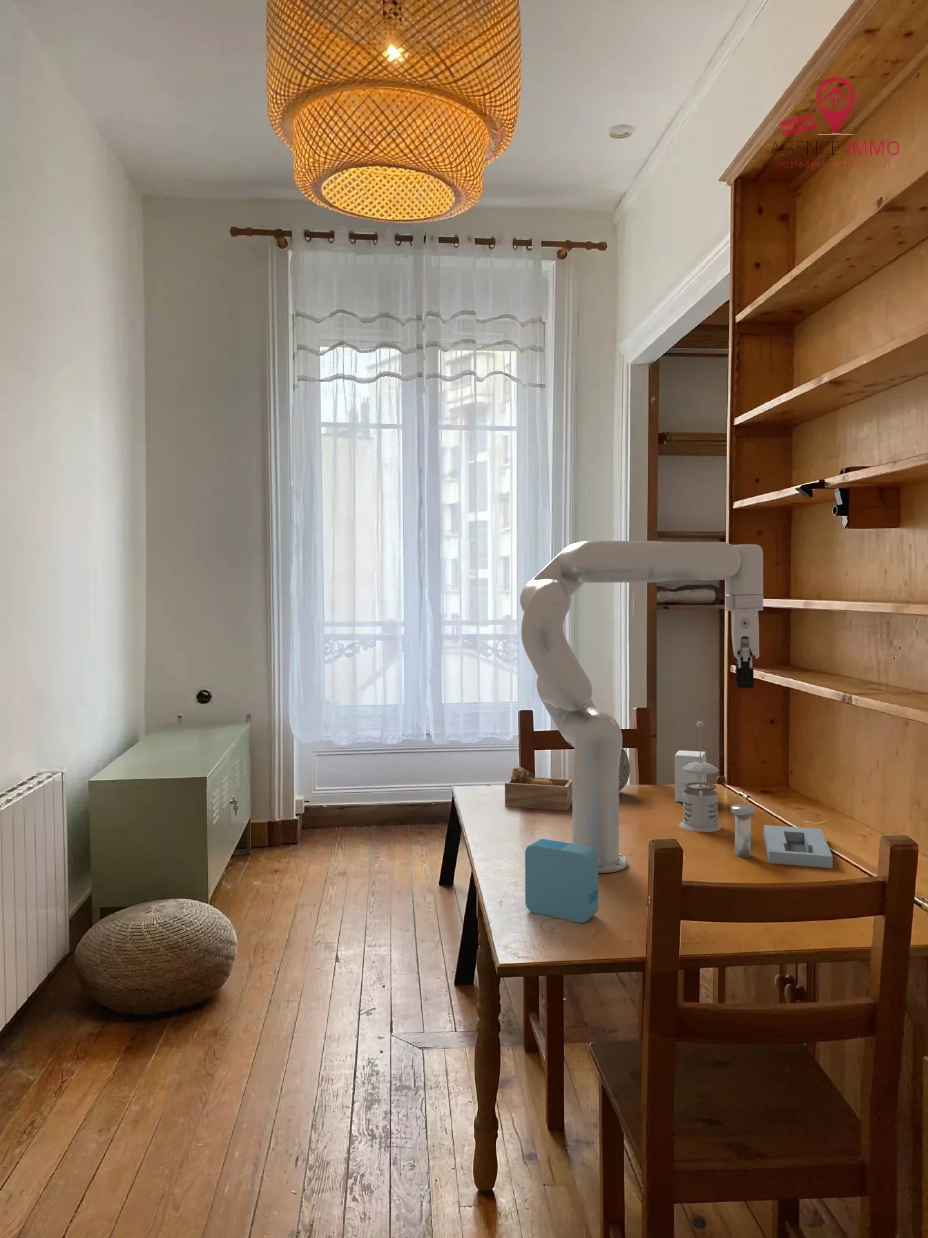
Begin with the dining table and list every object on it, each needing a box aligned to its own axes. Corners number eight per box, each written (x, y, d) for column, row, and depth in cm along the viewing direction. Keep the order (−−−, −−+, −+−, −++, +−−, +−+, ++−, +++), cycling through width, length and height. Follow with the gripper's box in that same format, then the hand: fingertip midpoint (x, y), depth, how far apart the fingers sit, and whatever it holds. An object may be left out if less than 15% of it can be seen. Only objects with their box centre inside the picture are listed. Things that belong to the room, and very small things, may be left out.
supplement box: (706, 798, 224) (707, 751, 223) (702, 804, 217) (702, 756, 216) (679, 795, 227) (679, 749, 226) (674, 801, 220) (674, 754, 220)
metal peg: (755, 859, 172) (755, 811, 172) (730, 857, 174) (731, 809, 173) (754, 852, 177) (754, 805, 177) (730, 850, 178) (730, 803, 178)
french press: (678, 830, 194) (678, 723, 193) (680, 817, 205) (680, 716, 204) (722, 833, 191) (722, 725, 190) (721, 820, 202) (722, 717, 201)
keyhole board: (832, 868, 166) (832, 856, 166) (768, 863, 170) (769, 851, 170) (820, 839, 186) (820, 829, 186) (763, 835, 189) (763, 825, 189)
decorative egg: (587, 788, 236) (586, 735, 235) (629, 789, 234) (628, 736, 234) (586, 798, 224) (586, 743, 224) (630, 799, 222) (630, 744, 222)
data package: (598, 916, 143) (598, 847, 143) (588, 925, 139) (588, 854, 139) (536, 903, 149) (536, 837, 149) (524, 911, 145) (524, 843, 145)
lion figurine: (507, 801, 220) (507, 768, 220) (515, 797, 225) (516, 764, 224) (559, 809, 213) (560, 774, 213) (566, 804, 218) (567, 770, 217)
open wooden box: (567, 810, 212) (567, 787, 212) (504, 806, 217) (504, 783, 217) (573, 802, 221) (573, 779, 220) (513, 798, 225) (513, 776, 225)
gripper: (765, 604, 164) (765, 690, 165) (761, 602, 181) (761, 681, 181) (725, 604, 166) (726, 689, 167) (724, 603, 183) (725, 680, 184)
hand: (744, 685), depth 174 cm, fingers open, 9 cm apart
